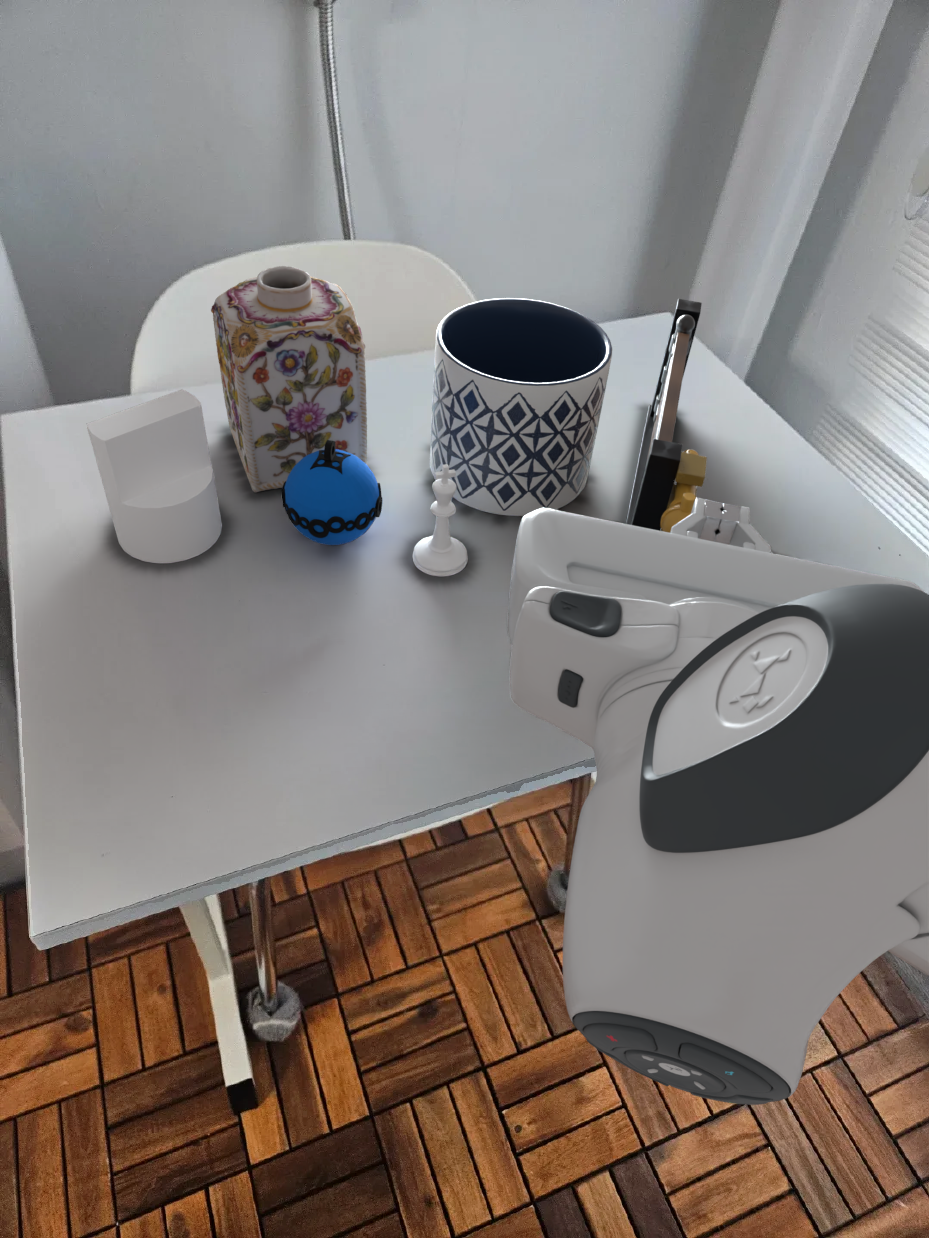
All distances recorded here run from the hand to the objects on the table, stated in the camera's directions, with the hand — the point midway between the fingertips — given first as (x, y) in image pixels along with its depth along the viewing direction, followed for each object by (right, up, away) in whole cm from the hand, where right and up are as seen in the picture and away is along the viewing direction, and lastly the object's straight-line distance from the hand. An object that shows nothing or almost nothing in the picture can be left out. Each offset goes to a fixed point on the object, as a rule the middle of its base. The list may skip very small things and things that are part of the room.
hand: (718, 512), depth 49 cm
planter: (-10, +9, +41) cm, 43 cm away
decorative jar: (-31, +11, +41) cm, 52 cm away
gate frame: (+5, +7, +40) cm, 41 cm away
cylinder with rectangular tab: (-40, +2, +31) cm, 51 cm away
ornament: (-26, +2, +32) cm, 41 cm away
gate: (+5, +8, +40) cm, 41 cm away
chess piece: (-16, -1, +31) cm, 35 cm away
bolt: (+4, +3, +24) cm, 25 cm away
